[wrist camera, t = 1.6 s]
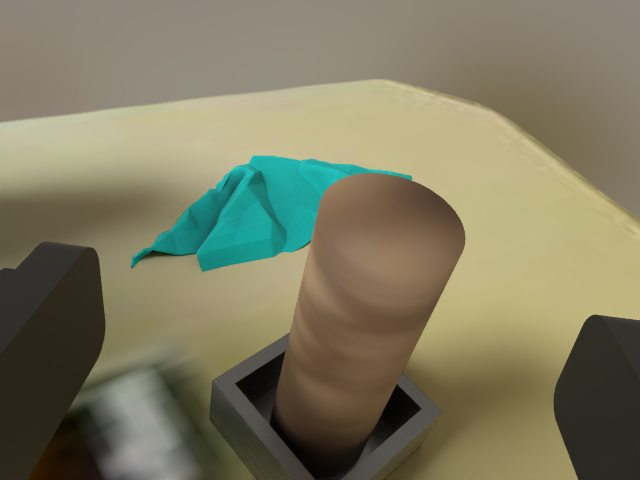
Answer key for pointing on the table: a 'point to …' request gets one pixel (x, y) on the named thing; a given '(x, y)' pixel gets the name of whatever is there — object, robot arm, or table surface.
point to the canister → (360, 312)
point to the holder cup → (273, 454)
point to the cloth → (254, 212)
